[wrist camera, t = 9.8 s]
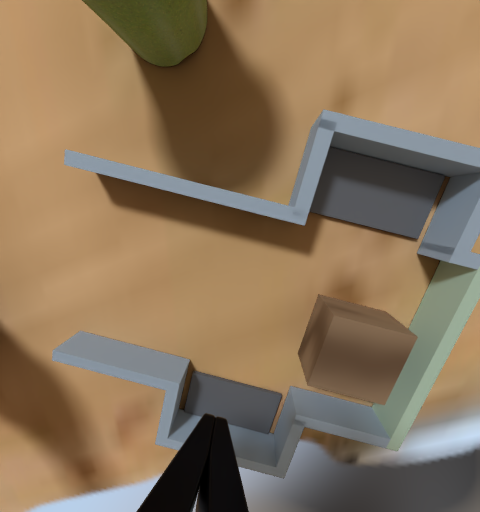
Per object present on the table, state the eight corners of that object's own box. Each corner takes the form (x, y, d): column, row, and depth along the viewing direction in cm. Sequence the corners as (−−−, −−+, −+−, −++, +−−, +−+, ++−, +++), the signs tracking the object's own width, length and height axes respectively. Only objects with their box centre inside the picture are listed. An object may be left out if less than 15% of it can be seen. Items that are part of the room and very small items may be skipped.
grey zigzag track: (355, 463, 23) (370, 501, 20) (75, 389, 23) (48, 415, 20) (496, 173, 16) (549, 165, 13) (103, 75, 17) (71, 46, 14)
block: (360, 367, 21) (384, 405, 17) (297, 351, 21) (307, 385, 17) (384, 310, 19) (418, 337, 15) (318, 293, 19) (334, 315, 15)
